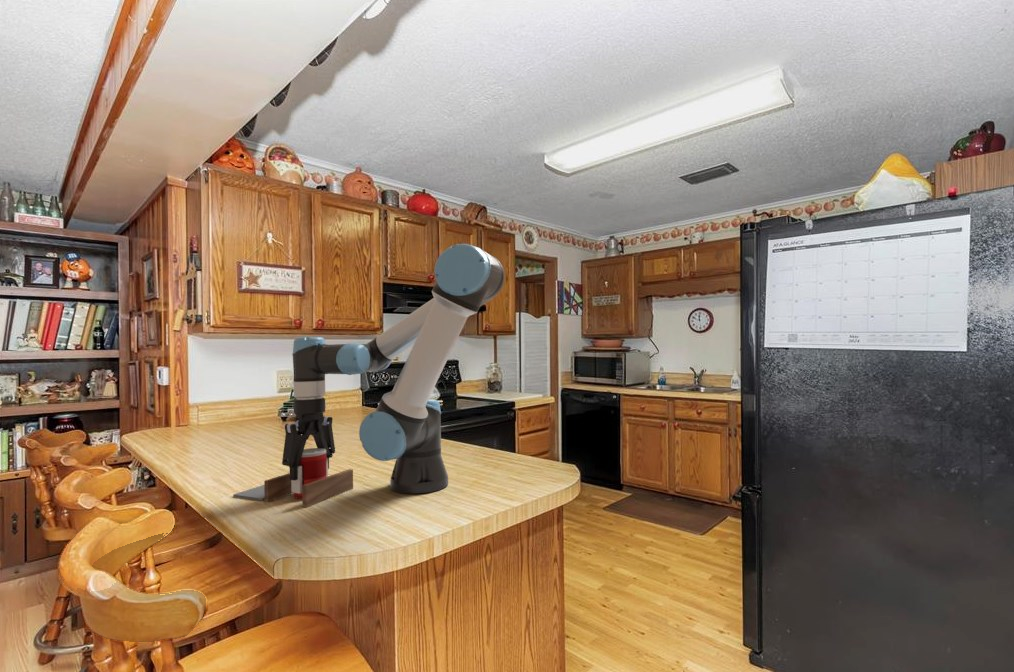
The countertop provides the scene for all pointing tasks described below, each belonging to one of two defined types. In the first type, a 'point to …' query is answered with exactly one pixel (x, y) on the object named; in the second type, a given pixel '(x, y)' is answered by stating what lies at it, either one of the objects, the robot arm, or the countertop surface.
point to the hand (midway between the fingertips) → (310, 487)
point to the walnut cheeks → (310, 487)
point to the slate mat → (252, 494)
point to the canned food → (312, 466)
